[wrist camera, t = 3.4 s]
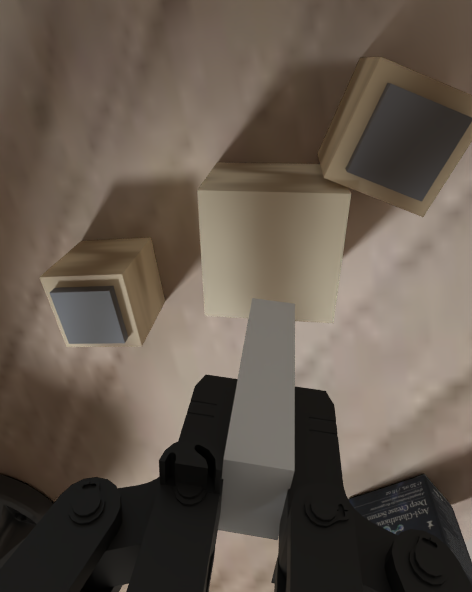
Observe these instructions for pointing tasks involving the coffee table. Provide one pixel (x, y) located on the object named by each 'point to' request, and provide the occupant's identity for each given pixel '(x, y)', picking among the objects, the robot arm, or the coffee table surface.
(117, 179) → the coffee table surface
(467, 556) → the box
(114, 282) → the marked oak block 2
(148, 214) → the coffee table surface
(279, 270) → the plain oak block
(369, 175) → the marked oak block 1
